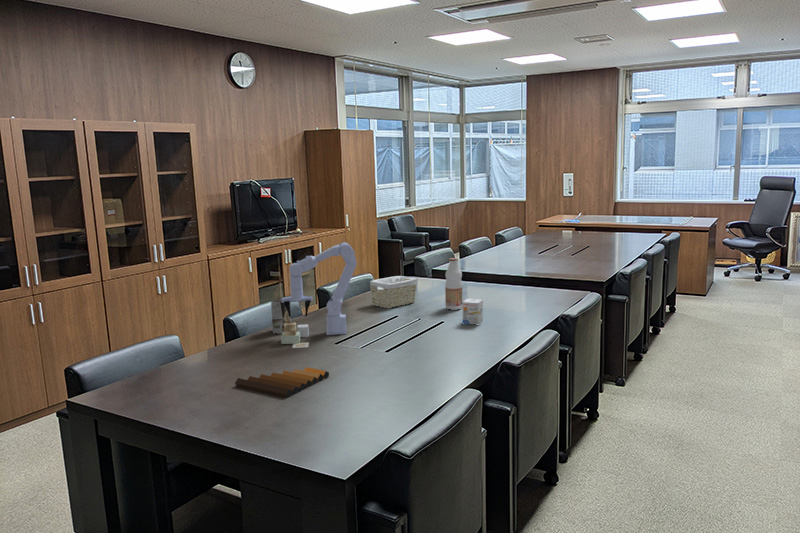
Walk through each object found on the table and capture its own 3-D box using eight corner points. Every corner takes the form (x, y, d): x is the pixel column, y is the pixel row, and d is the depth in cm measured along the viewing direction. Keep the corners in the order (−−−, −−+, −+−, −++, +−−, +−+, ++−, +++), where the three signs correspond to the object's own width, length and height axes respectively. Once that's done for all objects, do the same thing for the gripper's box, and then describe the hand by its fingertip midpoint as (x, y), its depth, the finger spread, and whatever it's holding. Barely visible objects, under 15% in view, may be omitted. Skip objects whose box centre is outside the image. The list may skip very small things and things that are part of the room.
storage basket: (399, 298, 371) (399, 274, 368) (418, 302, 359) (418, 277, 356) (369, 305, 354) (368, 280, 352) (388, 310, 343) (387, 284, 340)
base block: (300, 339, 291) (300, 331, 291) (299, 343, 283) (298, 335, 283) (283, 339, 291) (282, 332, 290) (281, 344, 283) (281, 336, 282)
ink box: (462, 324, 309) (461, 301, 307) (466, 320, 317) (466, 298, 315) (478, 325, 306) (478, 302, 304) (483, 321, 314) (483, 299, 312)
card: (309, 343, 284) (309, 342, 284) (308, 347, 277) (308, 346, 277) (293, 343, 284) (293, 342, 284) (292, 348, 277) (292, 347, 277)
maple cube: (296, 332, 289) (295, 322, 288) (295, 335, 284) (295, 324, 284) (285, 333, 289) (285, 322, 288) (284, 335, 284) (284, 325, 283)
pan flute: (235, 388, 231) (286, 399, 218) (234, 379, 231) (285, 390, 218) (280, 368, 252) (329, 378, 239) (279, 360, 252) (329, 369, 239)
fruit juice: (448, 311, 337) (447, 260, 333) (443, 307, 346) (442, 257, 342) (464, 309, 339) (464, 259, 335) (459, 305, 348) (459, 256, 344)
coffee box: (284, 334, 300) (283, 301, 298) (272, 333, 302) (270, 301, 299) (291, 329, 309) (290, 297, 306) (279, 328, 310) (277, 297, 308)
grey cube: (308, 334, 299) (308, 324, 298) (308, 337, 294) (307, 327, 293) (298, 334, 299) (297, 324, 298) (297, 337, 294) (297, 327, 293)
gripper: (280, 291, 289) (282, 319, 291) (311, 289, 290) (313, 317, 292) (281, 287, 296) (283, 315, 298) (312, 286, 297) (313, 314, 299)
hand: (298, 316), depth 296 cm, fingers open, 7 cm apart
